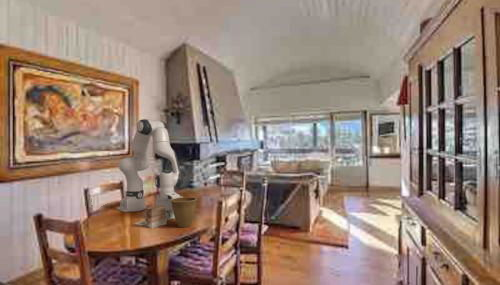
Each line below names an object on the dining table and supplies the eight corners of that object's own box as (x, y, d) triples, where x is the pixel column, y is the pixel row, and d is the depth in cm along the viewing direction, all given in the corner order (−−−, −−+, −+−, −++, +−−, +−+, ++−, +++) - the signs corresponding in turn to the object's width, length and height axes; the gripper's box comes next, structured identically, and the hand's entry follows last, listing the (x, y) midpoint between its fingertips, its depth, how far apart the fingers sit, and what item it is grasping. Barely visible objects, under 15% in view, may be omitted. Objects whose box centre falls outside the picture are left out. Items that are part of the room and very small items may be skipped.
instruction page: (133, 223, 197) (133, 223, 197) (146, 220, 204) (146, 220, 204) (140, 225, 193) (140, 225, 193) (153, 222, 200) (153, 221, 200)
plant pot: (201, 223, 195) (201, 197, 194) (187, 230, 181) (187, 202, 181) (181, 221, 201) (181, 196, 201) (166, 227, 187) (165, 200, 187)
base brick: (145, 226, 190) (145, 216, 190) (160, 222, 199) (160, 212, 199) (151, 228, 187) (151, 218, 187) (166, 223, 196) (166, 214, 196)
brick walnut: (146, 216, 190) (146, 208, 190) (160, 213, 198) (159, 205, 198) (151, 217, 187) (151, 209, 187) (165, 214, 196) (165, 206, 195)
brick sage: (158, 219, 205) (158, 212, 205) (171, 216, 213) (171, 209, 213) (163, 221, 202) (163, 213, 202) (176, 217, 210) (176, 210, 210)
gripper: (153, 194, 211) (153, 215, 211) (174, 197, 199) (174, 219, 199) (160, 192, 216) (161, 213, 216) (181, 195, 204) (182, 217, 205)
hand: (167, 216), depth 208 cm, fingers closed on brick sage, 5 cm apart
